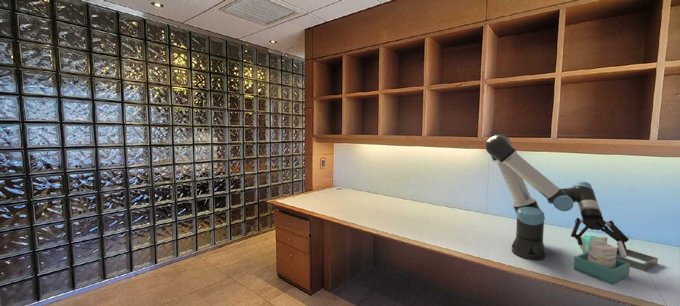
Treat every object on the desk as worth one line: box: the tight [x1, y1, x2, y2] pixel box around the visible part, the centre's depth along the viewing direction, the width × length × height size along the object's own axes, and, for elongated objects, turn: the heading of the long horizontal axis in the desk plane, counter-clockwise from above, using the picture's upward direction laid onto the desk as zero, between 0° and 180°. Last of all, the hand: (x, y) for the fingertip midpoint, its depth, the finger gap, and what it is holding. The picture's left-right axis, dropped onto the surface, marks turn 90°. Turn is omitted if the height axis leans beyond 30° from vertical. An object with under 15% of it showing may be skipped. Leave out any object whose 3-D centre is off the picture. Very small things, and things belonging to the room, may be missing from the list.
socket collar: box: [616, 246, 659, 272], centre depth 135 cm, size 14×14×3 cm
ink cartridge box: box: [588, 236, 617, 270], centre depth 124 cm, size 9×5×15 cm, turn 92°
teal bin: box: [573, 252, 631, 285], centre depth 125 cm, size 14×14×6 cm
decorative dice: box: [578, 234, 602, 252], centre depth 144 cm, size 8×8×8 cm
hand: (604, 254), depth 122 cm, fingers open, 13 cm apart
